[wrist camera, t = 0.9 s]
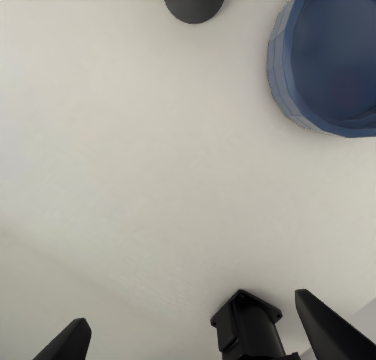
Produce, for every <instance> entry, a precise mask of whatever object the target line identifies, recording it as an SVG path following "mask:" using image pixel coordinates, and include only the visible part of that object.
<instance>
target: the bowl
mask: <svg viewBox="0 0 376 360" xmlns="http://www.w3.org/2000/svg"><path fill="white" fill-rule="evenodd" d="M267 76H268V80H269V84H270V88H271V92H272V96H273V98H274V99H275V101H276V102H277V104H278V105H279V107H280V108H281V110H282V111H283V113H284V114H285V115H286V116H287V117H288V118H289V119H291V120H292V121H293V122H295V123H296V124H298V125H299V126H300V127H302V128H304V129H308V130H312V131H315V132H319V133H322V134H328V135H334V136H340V137H345V138H358V137H375V136H376V0H288V1H287V2H286V4H285V6H284V7H283V9H282V10H281V12H280V13H279V15H278V17H277V20H276V23H275V26H274V29H273V32H272V35H271V38H270V41H269V44H268V57H267Z"/></svg>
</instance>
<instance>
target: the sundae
mask: <svg viewBox="0 0 376 360" xmlns="http://www.w3.org/2000/svg"><path fill="white" fill-rule="evenodd" d="M164 1H165V3H166V5H167V7H168V9H169V10H170V11H171V13H172V14H173V15H174V16H175V17H176V18H177V19H179V20H181V21H183V22H186V23H189V24H196V23H202V22H204V21H206V20H208V19H210V18H211V17H213V16H214V14H215V13H216V12H217V11H218V10H219V8H220V7H221V6H222V3H223V1H224V0H164Z"/></svg>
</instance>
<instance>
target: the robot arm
mask: <svg viewBox="0 0 376 360" xmlns="http://www.w3.org/2000/svg"><path fill="white" fill-rule="evenodd" d="M240 294H241V295H240ZM295 304H296V309H297V312H298V314H299V317H300V319H301V322H302V324H303V327H304V329H305V332H306V334H307V337H308V339H309V342H310V344H311V346H312V349H313V351H314V354H315V356H316V358H317V360H376V344H374V343H373V342H372V341H371V340H369V339H368V338H367V337H366V336H364V335H363V334H362V333H361V332H359V331H358V330H357V329H356V328H354V327H353V326H352V325H351V324H349V323H348V322H347V321H346V320H344V319H343V318H342V317H341V316H339V315H338V314H337V313H336V312H334V311H333V310H332V309H331V308H329V307H328V306H327V305H326V304H324V303H323V302H322V301H321V300H319V299H318V298H317V297H316V296H314V295H313V294H312V293H311V292H309V291H308V290H307V289H298V290H295ZM282 317H283V315H282V312H281V311H280V310H278V309H277V308H275V307H273V306H271V305H269V304H268V303H266V302H264V301H262V300H260V299H259V298H257V297H255V296H253V295H251V294H250V293H248V292H246V291H244V290H238V291H237V292H236V293H235V294H234V295H233V296H232V297H231V298H230V299H229V301H228V302H227V303H226V304H225V305H224V306H223V307H222V308H221V309H220V310H219V311H218V312H217V313H216V314H215V315H214V316H213V317H212V318H211V320H210V322H211V325H212V326H213V327H215V328H217V336H218V347H219V351H220V352H222V360H301V359H300V357H299V355H298V352H295V353H292V354H291V355H287V356H286V353H285V351H284V348H283V345H282V343H281V340H280V337H279V334H278V332H277V329H276V326H275V323H276V322H278V321H279V320H280V319H281V318H282ZM91 334H92V333H91V329H90V327H89V325H88V323H87V321H86V319H85V318H77V319H74V320H73V321H72V322H71V323H70V324H69V325H68V326H67V327H66V328H65V329H64V330H63V331H62V332H61V333H59V334H58V335H57V336H56V337H55V338H54V339H53V340H52V341H51V342H50V343H49V344H48V345H47V346H46V347H45V348H44V349H43V350H42V351H41V352H40V353H39V354H38V355H37V356H36V357H35V358H34V359H33V360H85V358H86V354H87V350H88V347H89V343H90V339H91Z"/></svg>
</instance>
